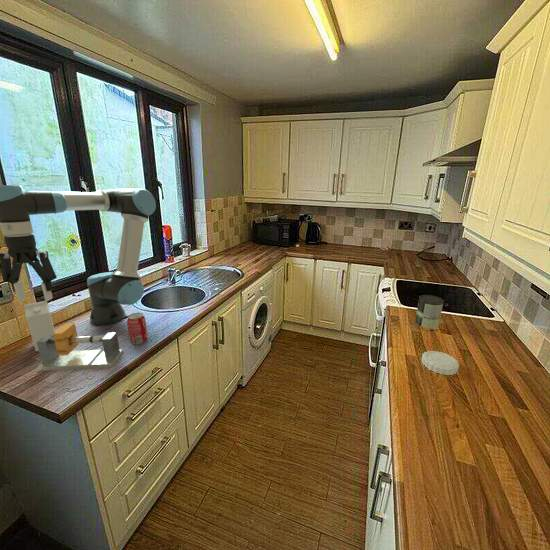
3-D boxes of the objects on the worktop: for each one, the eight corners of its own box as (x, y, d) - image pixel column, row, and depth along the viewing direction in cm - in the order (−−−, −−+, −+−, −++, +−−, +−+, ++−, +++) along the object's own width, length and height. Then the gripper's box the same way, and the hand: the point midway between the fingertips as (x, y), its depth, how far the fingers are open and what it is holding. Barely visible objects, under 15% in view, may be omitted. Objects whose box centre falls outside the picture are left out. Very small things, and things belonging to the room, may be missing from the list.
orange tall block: (58, 355, 102) (52, 333, 99) (71, 344, 109) (66, 323, 106) (67, 355, 102) (61, 333, 99) (79, 343, 109) (74, 323, 107)
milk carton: (35, 344, 118) (23, 302, 112) (56, 339, 122) (46, 298, 117) (35, 351, 113) (23, 308, 107) (57, 345, 117) (47, 303, 112)
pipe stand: (38, 370, 101) (31, 345, 98) (56, 355, 111) (50, 331, 108) (111, 367, 104) (107, 342, 101) (123, 351, 113) (119, 328, 110)
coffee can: (410, 324, 138) (414, 297, 134) (421, 319, 144) (426, 293, 140) (431, 333, 130) (436, 304, 126) (442, 327, 136) (448, 299, 131)
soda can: (143, 335, 126) (139, 310, 122) (151, 340, 122) (148, 315, 118) (127, 341, 121) (122, 316, 117) (135, 347, 116) (130, 321, 113)
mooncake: (454, 361, 109) (456, 353, 108) (460, 380, 99) (462, 371, 98) (419, 354, 113) (421, 346, 112) (422, 372, 103) (423, 363, 102)
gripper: (-27, 237, 87) (-6, 305, 94) (45, 236, 90) (61, 303, 96) (-7, 233, 95) (11, 296, 101) (60, 232, 97) (73, 295, 103)
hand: (35, 299), depth 99 cm, fingers open, 8 cm apart
